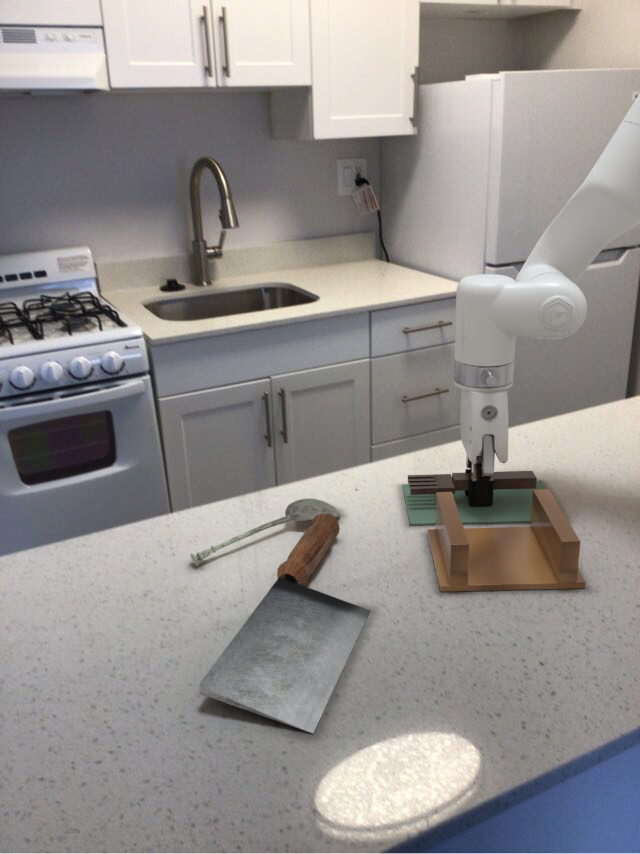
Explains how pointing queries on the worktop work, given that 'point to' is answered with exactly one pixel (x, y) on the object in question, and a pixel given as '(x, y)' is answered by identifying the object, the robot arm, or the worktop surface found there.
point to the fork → (461, 482)
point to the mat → (504, 509)
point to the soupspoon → (278, 522)
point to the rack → (505, 550)
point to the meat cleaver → (290, 642)
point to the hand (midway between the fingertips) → (478, 499)
